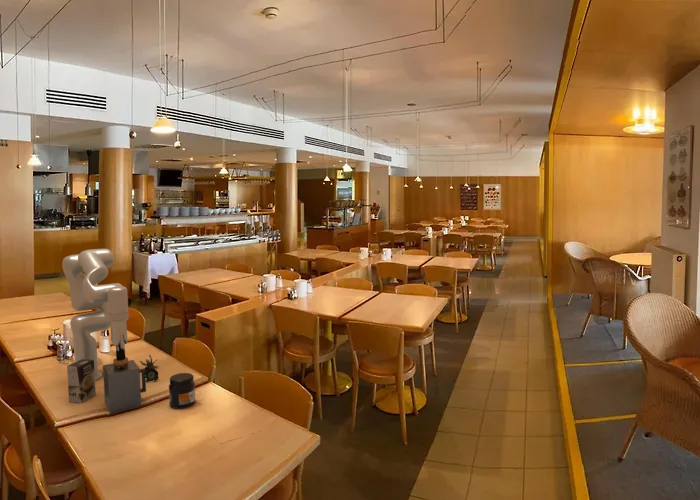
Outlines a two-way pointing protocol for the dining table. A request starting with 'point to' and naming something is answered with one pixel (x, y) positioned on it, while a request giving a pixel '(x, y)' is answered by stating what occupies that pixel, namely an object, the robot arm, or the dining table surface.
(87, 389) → the coffee box
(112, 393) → the press pot
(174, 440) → the dining table surface
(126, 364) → the plunger
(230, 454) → the dining table surface
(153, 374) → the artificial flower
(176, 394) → the supplement container
